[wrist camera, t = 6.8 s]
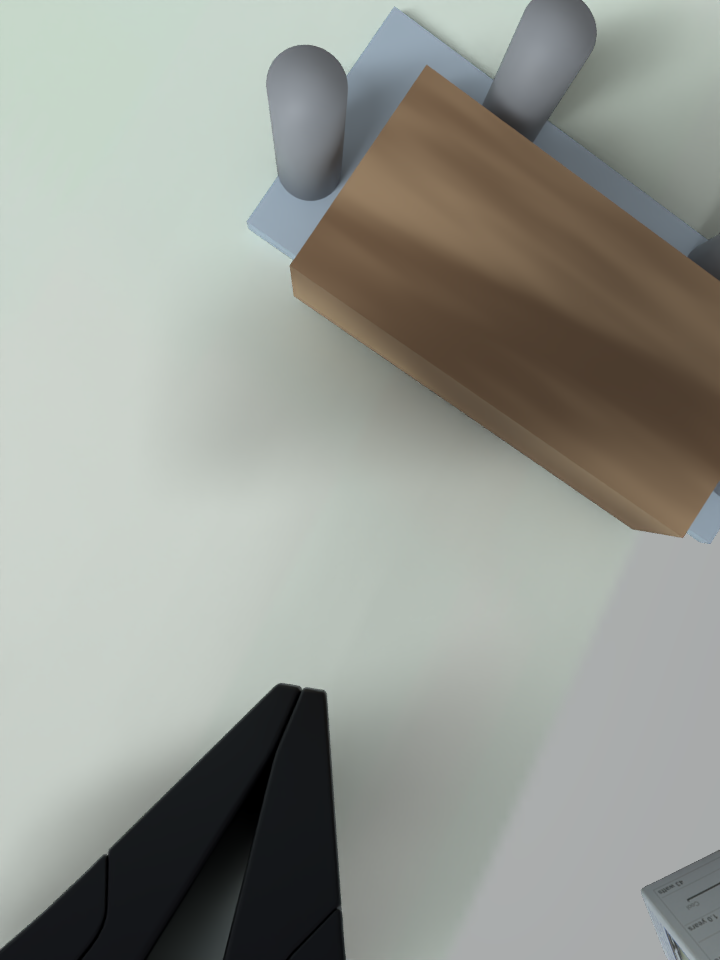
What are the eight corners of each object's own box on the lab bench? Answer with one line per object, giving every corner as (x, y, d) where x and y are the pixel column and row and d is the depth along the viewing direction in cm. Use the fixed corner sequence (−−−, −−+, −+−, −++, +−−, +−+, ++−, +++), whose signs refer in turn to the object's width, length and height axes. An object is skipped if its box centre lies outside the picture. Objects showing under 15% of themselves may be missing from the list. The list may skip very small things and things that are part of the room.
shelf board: (682, 538, 19) (806, 344, 19) (289, 265, 18) (426, 64, 18) (632, 529, 22) (739, 362, 22) (293, 295, 21) (410, 123, 21)
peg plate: (707, 547, 23) (818, 568, 18) (239, 222, 21) (215, 143, 16) (836, 343, 23) (980, 307, 18) (386, 8, 21) (407, -134, 16)
